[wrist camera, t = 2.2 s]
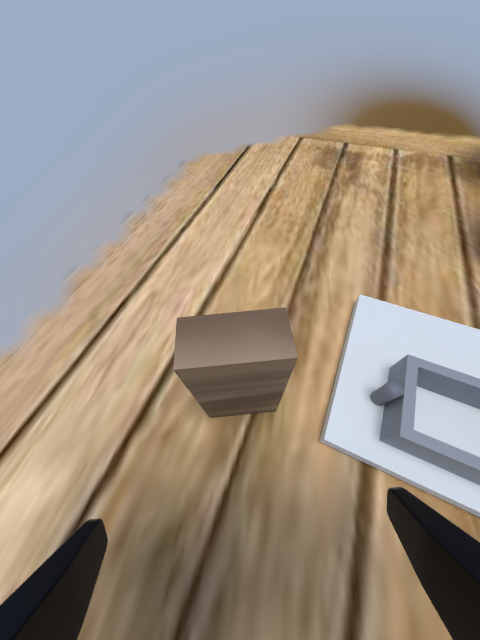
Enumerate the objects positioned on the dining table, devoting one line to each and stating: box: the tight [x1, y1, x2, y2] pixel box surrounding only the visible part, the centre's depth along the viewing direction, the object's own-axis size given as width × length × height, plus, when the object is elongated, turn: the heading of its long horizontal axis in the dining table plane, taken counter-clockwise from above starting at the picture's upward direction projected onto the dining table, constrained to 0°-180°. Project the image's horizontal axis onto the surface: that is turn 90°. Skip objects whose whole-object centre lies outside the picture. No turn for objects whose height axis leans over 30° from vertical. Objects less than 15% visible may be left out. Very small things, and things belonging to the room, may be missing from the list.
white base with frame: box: [320, 295, 480, 517], centre depth 19 cm, size 16×18×4 cm
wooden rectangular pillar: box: [173, 308, 298, 418], centre depth 17 cm, size 4×6×12 cm, turn 95°
